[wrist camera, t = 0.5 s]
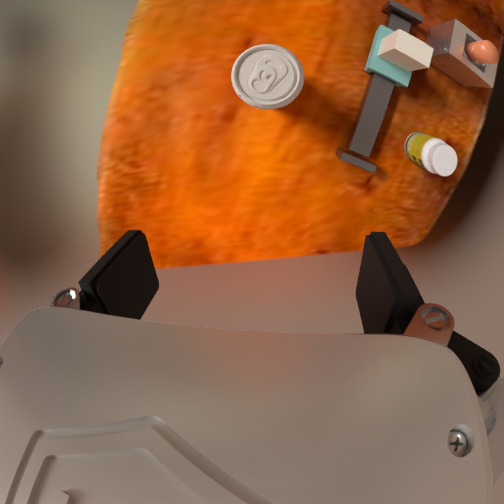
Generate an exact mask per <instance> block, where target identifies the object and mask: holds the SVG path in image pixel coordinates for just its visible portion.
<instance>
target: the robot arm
mask: <svg viewBox="0 0 504 504" xmlns="http://www.w3.org/2000/svg"><path fill="white" fill-rule="evenodd" d="M79 285H80V287H81V289H82V290H81V291H80V292H79V290H78V289H77V288H74V287H69V288H66V289H63V290H61V291H59V292H58V293H57V294H56V295H55V296H54V297H53V298H52V300H51V303H50V307H46V308H40V309H36V310H34V311H31V312H29V313H27V314H26V315H25V316H24V317H23V318H22V319H21V320H20V321H19V322H18V323H17V324H16V326H15V327H14V328H13V329H12V330H11V332H10V333H9V334H8V335H7V337H6V338H5V339H4V341H3V342H2V344H1V345H0V504H494V485H493V484H494V482H495V481H496V480H497V479H498V477H499V476H500V475H501V473H502V472H503V471H504V377H503V378H501V377H500V376H499V375H500V366H499V363H498V361H497V359H496V358H495V357H494V356H493V355H492V354H491V353H489V352H488V351H486V350H485V349H483V348H481V347H480V346H478V345H477V344H475V343H473V342H472V341H470V340H468V339H467V338H465V337H463V336H462V335H460V334H458V333H456V332H455V331H453V328H454V318H453V316H452V315H451V313H450V312H449V311H448V310H447V309H445V308H444V307H442V306H440V305H438V304H433V303H428V304H425V303H424V301H423V299H422V297H421V295H420V293H419V291H418V289H417V287H416V285H415V283H414V281H413V279H412V277H411V275H410V273H409V271H408V269H407V268H406V266H405V265H404V264H403V263H402V261H401V259H400V257H399V255H398V254H397V252H396V250H395V248H394V247H393V245H392V243H391V241H390V240H389V238H388V236H387V235H386V233H385V232H371V233H370V235H366V238H365V243H364V249H363V256H362V261H361V266H360V272H359V277H358V282H357V287H356V299H357V303H358V307H359V311H360V316H361V320H362V325H363V329H364V334H349V333H348V334H311V333H309V334H308V333H277V332H257V331H240V330H226V329H215V328H214V329H213V328H203V327H194V326H185V325H176V324H167V323H159V322H152V321H144V320H140V319H141V317H142V316H143V314H144V312H145V311H146V309H147V307H148V305H149V304H150V302H151V300H152V299H153V297H154V295H155V293H156V292H157V290H158V288H159V281H158V278H157V275H156V271H155V268H154V264H153V261H152V257H151V254H150V250H149V247H148V243H147V239H146V236H145V234H144V233H142V231H140V230H129V231H127V232H126V233H125V234H124V235H123V236H122V237H121V238H120V239H119V240H118V241H117V242H116V243H115V244H114V245H113V246H112V247H111V248H110V249H109V250H108V251H107V252H106V253H105V254H104V255H103V256H102V257H101V258H100V259H99V260H98V261H97V263H96V264H95V265H94V266H93V267H92V268H91V269H90V270H89V271H88V272H87V273H86V274H85V276H84V277H83V278H82V279H81V280H80V281H79Z"/></svg>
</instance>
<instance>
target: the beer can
mask: <svg viewBox="0 0 504 504" xmlns="http://www.w3.org/2000/svg"><path fill="white" fill-rule="evenodd" d="M231 79H232V84H233V87H234V90H235V92H236V93H237V95H238V96H239V97H240V98H241V99H242V100H243V101H244V102H246V103H247V104H249V105H251V106H253V107H256V108H259V109H277V108H281V107H284V106H286V105H288V104H290V103H291V102H292V101H293V100H294V99H295V98H296V97H297V96H298V95H299V93H300V92H301V90H302V87H303V84H304V70H303V67H302V65H301V63H300V61H299V59H298V58H297V57H296V56H295V55H294V54H293V53H292V52H291V51H289V50H288V49H286V48H284V47H281V46H278V45H273V44H262V45H257V46H254V47H251V48H249V49H247V50H246V51H244V52H243V53H242V54H241V55H240V56H239V57H238V58H237V60H236V61H235V63H234V66H233V68H232V74H231Z"/></svg>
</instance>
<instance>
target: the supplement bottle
mask: <svg viewBox="0 0 504 504" xmlns="http://www.w3.org/2000/svg"><path fill="white" fill-rule="evenodd" d="M405 152H406V155H407V156H408V158H409V159H410V160H411V161H413V162H414V163H416V164H418V165H419V166H421V167H423V168H424V169H426V170H428V171H429V172H431V173H434V174H439V175H441V176H449V175H451V174H452V173H453V172H454V170H455V169H456V166H457V155H456V153H455V151H454V149H453V148H452V147H450V146H449V145H447V144H446V143H445V142H444V141H442V140H440V139H438V138H435V137H432V136H430V135H427V134H424V133H421V132H414V133H411V134H410V135H409V136H408V137H407V139H406V141H405Z"/></svg>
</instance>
